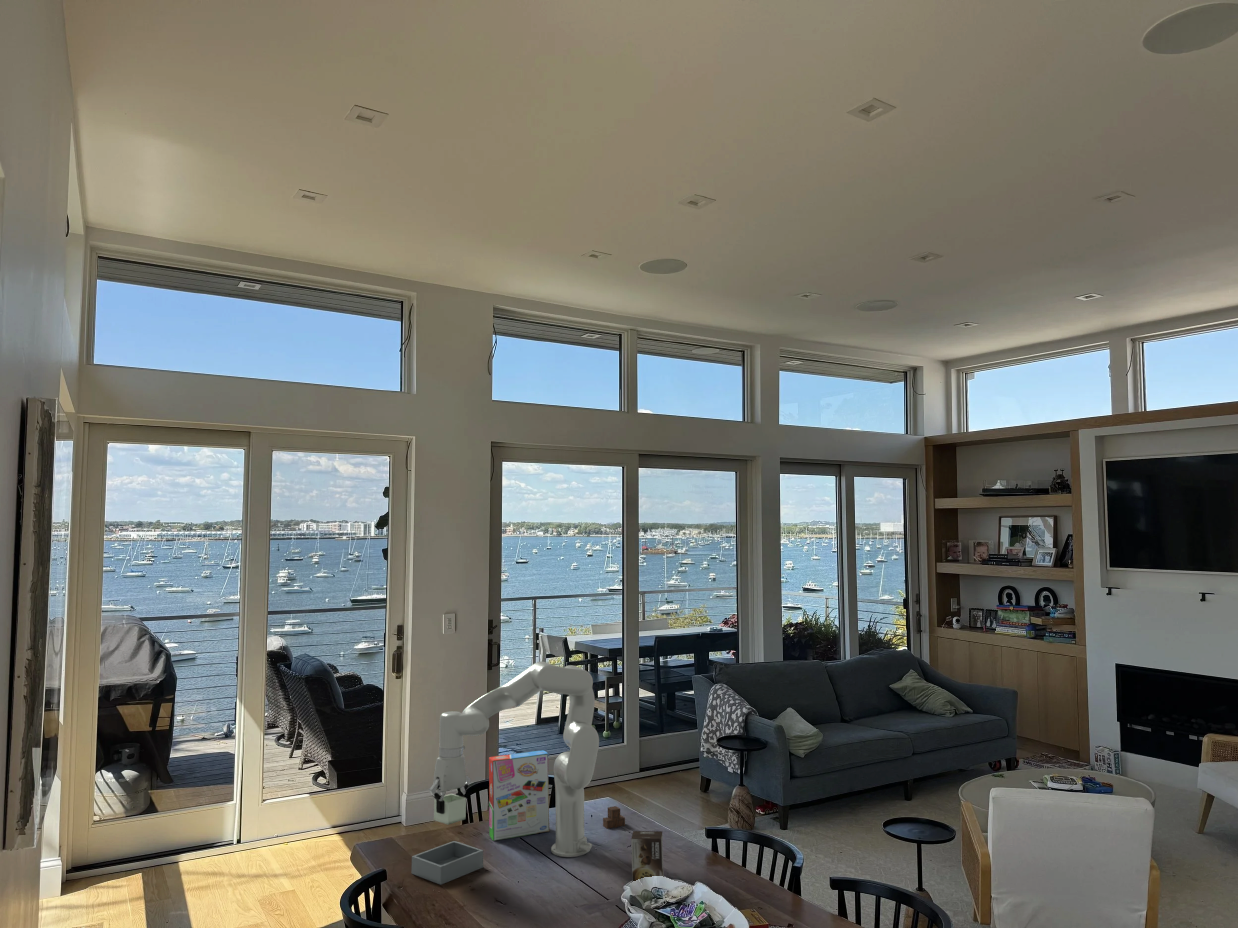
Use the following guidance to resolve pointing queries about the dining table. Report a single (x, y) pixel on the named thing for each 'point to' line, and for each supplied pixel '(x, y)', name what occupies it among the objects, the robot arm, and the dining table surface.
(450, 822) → the small crate
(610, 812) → the stack of crates
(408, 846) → the dining table surface
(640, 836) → the food package box
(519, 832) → the game box
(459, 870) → the big crate
